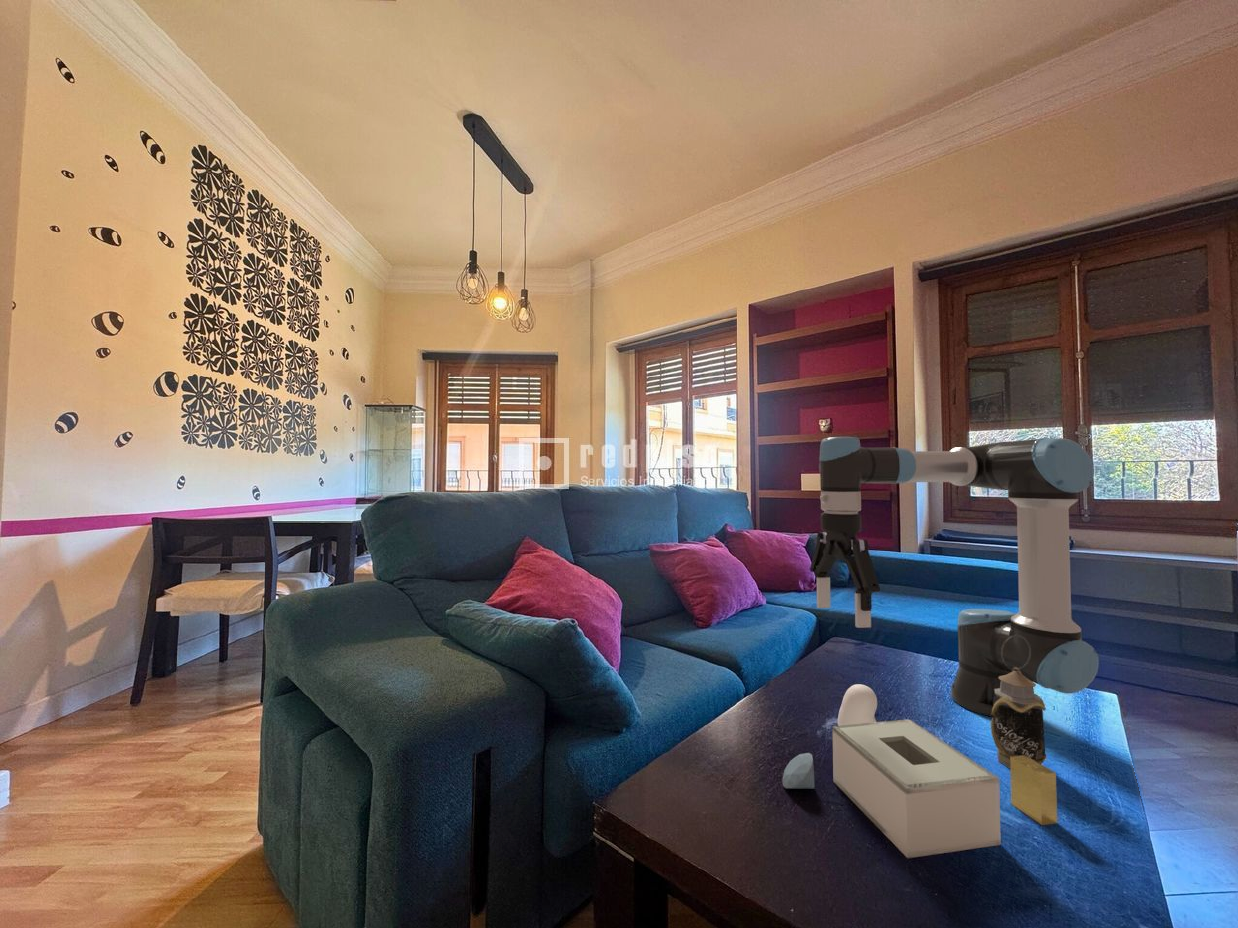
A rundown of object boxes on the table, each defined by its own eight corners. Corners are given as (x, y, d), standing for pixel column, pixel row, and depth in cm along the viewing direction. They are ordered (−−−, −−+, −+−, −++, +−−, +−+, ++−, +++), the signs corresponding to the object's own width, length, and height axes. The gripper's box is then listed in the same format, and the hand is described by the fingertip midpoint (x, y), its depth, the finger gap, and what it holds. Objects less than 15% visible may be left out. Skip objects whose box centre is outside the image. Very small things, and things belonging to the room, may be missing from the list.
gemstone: (830, 763, 88) (809, 741, 89) (830, 793, 81) (807, 769, 82) (800, 783, 90) (780, 761, 91) (797, 814, 83) (776, 790, 85)
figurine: (883, 753, 96) (882, 694, 97) (843, 749, 98) (842, 690, 98) (871, 735, 103) (870, 679, 103) (834, 731, 105) (833, 676, 105)
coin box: (910, 772, 90) (909, 719, 90) (1000, 844, 72) (999, 777, 73) (833, 781, 87) (832, 726, 88) (907, 858, 70) (906, 788, 70)
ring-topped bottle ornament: (1019, 779, 88) (1016, 643, 89) (980, 754, 96) (977, 629, 97) (1059, 774, 89) (1055, 640, 90) (1017, 750, 97) (1013, 627, 98)
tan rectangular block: (1026, 802, 82) (1024, 754, 82) (1057, 822, 77) (1055, 772, 77) (1011, 804, 81) (1010, 756, 82) (1041, 825, 76) (1040, 774, 77)
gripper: (793, 508, 109) (794, 601, 109) (861, 517, 85) (863, 637, 84) (824, 508, 110) (825, 600, 110) (900, 516, 85) (902, 635, 85)
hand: (842, 616), depth 97 cm, fingers open, 13 cm apart
